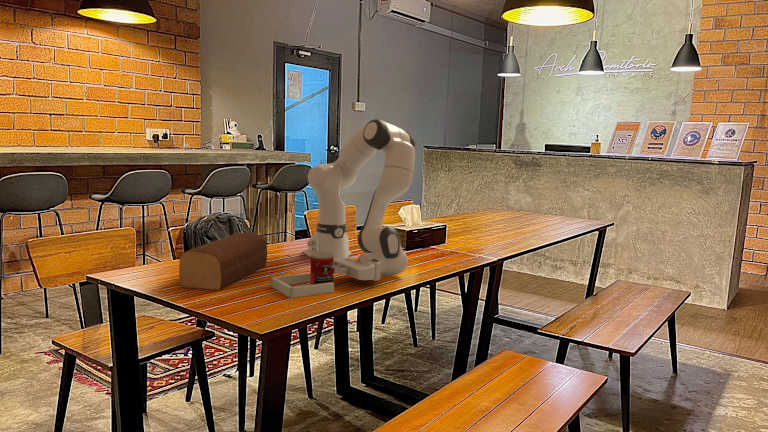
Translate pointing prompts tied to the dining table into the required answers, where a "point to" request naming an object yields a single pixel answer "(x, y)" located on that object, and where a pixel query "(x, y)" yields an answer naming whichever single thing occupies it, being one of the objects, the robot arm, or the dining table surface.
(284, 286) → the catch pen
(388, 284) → the dining table surface
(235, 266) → the bread
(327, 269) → the canned food
